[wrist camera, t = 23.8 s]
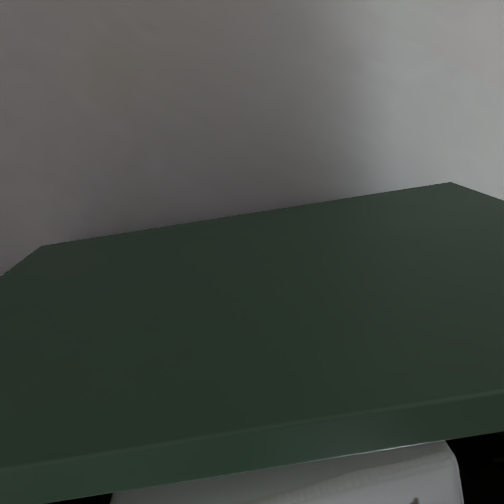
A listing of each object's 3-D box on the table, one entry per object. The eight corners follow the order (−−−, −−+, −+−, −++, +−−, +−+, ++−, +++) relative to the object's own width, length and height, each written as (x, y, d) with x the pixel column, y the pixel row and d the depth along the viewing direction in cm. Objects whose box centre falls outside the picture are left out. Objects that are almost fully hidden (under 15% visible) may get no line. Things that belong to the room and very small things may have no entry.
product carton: (157, 319, 13) (78, 553, 6) (339, 268, 13) (466, 455, 6) (213, 456, 15) (201, 747, 8) (372, 415, 15) (494, 680, 8)
